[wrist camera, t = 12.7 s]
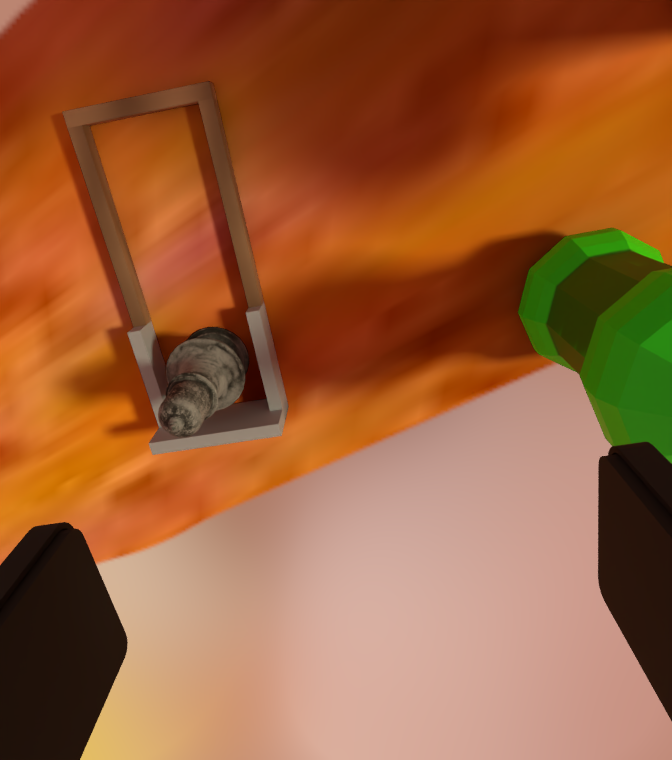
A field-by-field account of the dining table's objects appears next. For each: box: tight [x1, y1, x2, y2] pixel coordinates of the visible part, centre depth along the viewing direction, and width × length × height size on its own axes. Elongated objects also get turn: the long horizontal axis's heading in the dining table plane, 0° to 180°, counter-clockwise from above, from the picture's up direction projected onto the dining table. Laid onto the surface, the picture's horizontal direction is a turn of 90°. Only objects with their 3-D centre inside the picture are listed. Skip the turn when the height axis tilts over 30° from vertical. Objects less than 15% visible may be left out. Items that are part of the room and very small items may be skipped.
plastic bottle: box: [518, 228, 672, 464], centre depth 30 cm, size 10×10×25 cm
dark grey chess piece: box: [158, 327, 249, 437], centre depth 39 cm, size 6×6×12 cm
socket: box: [127, 302, 288, 455], centre depth 42 cm, size 10×9×5 cm
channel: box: [62, 81, 264, 327], centre depth 40 cm, size 10×15×1 cm, turn 10°
